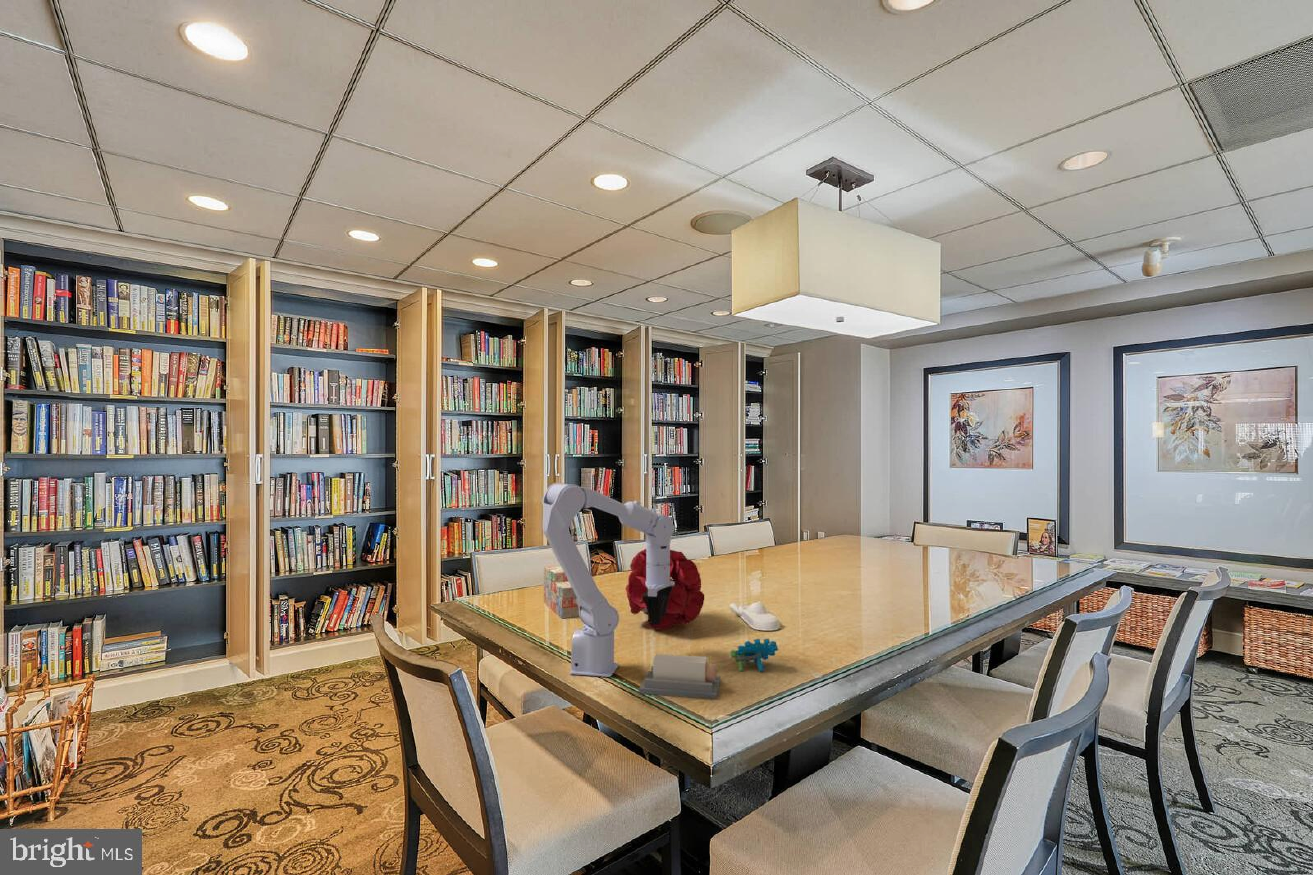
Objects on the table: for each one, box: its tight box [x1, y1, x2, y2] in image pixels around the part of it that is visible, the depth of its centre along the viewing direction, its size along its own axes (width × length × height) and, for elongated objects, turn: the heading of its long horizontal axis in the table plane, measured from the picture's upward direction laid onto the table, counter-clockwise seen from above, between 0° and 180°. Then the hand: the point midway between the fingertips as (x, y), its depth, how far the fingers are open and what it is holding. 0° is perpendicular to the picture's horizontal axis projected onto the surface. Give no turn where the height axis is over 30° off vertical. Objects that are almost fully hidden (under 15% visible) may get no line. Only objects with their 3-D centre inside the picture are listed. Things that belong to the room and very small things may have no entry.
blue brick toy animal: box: [730, 638, 779, 673], centre depth 137 cm, size 11×6×10 cm
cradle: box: [638, 665, 721, 700], centre depth 126 cm, size 16×10×2 cm, turn 79°
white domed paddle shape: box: [729, 600, 782, 632], centre depth 176 cm, size 10×20×6 cm, turn 11°
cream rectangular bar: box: [652, 653, 717, 682], centre depth 126 cm, size 13×4×5 cm, turn 79°
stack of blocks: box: [543, 564, 579, 619], centre depth 190 cm, size 21×6×12 cm, turn 25°
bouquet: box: [625, 548, 705, 630], centre depth 174 cm, size 22×24×30 cm
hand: (657, 619), depth 144 cm, fingers open, 7 cm apart
